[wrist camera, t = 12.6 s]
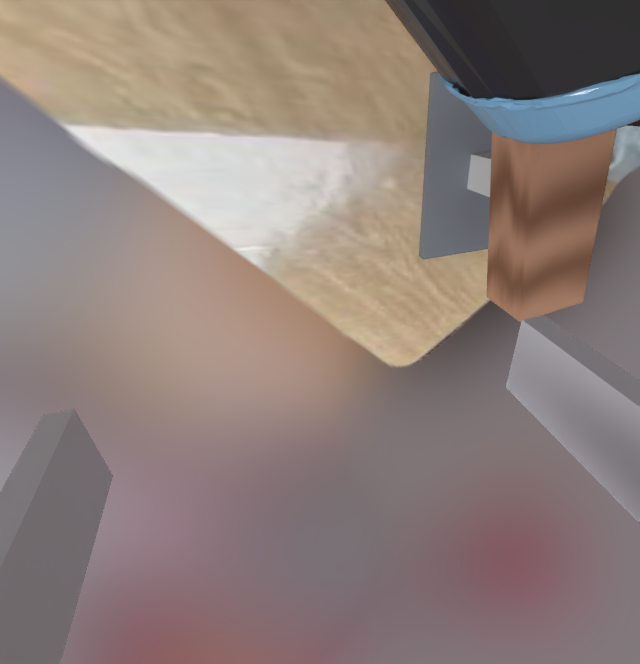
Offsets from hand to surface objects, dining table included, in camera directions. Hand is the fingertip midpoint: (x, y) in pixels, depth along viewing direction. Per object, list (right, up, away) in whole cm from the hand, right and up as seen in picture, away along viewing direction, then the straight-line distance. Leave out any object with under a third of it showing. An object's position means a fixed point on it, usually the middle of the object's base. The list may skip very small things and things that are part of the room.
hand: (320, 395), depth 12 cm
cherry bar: (+17, +14, +21) cm, 30 cm away
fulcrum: (+16, +18, +25) cm, 35 cm away
